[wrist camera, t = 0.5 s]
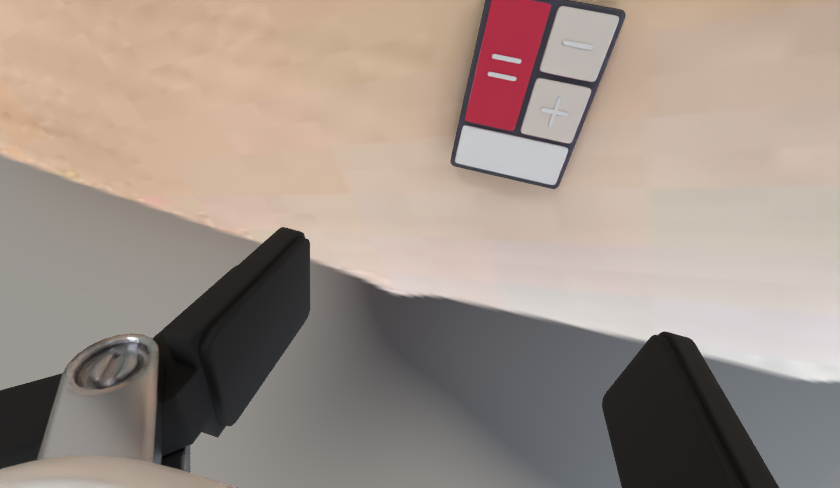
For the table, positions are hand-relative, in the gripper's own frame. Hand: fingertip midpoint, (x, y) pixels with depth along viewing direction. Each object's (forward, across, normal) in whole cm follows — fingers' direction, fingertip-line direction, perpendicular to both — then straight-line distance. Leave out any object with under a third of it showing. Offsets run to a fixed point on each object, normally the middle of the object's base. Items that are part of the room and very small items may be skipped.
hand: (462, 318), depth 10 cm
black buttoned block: (+31, -2, -2) cm, 31 cm away
